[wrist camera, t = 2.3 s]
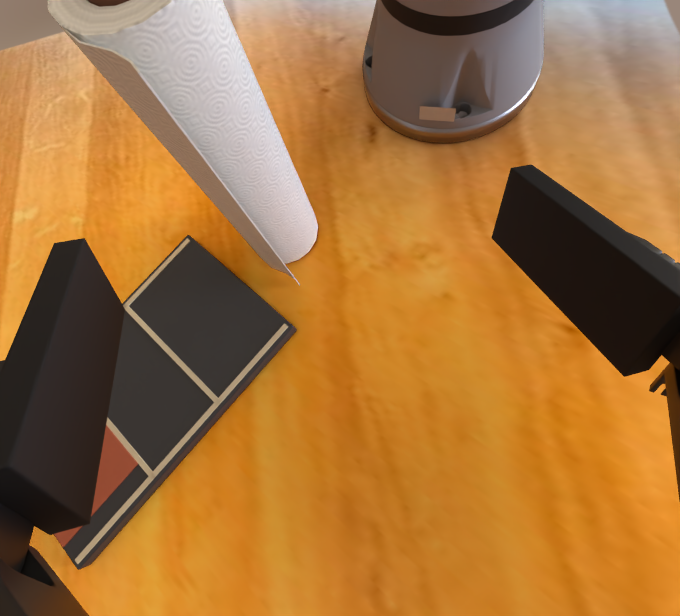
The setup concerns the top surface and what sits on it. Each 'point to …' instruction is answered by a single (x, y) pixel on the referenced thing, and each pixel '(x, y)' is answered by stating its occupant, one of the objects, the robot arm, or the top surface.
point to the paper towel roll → (200, 110)
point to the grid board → (173, 381)
